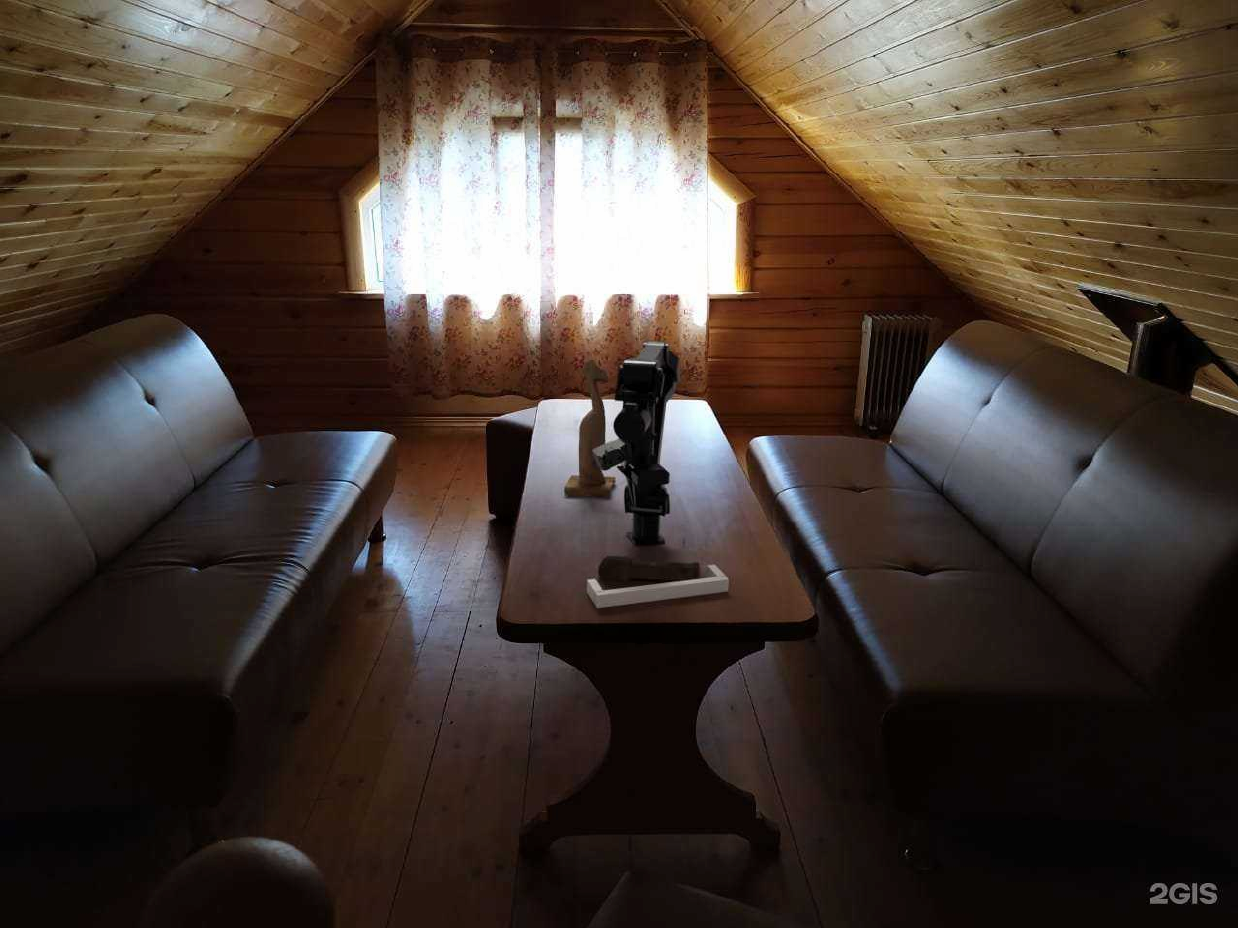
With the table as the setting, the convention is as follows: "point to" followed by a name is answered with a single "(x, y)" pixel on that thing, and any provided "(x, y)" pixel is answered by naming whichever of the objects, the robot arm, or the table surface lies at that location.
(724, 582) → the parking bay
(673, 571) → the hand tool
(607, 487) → the bird sculpture
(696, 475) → the table surface
